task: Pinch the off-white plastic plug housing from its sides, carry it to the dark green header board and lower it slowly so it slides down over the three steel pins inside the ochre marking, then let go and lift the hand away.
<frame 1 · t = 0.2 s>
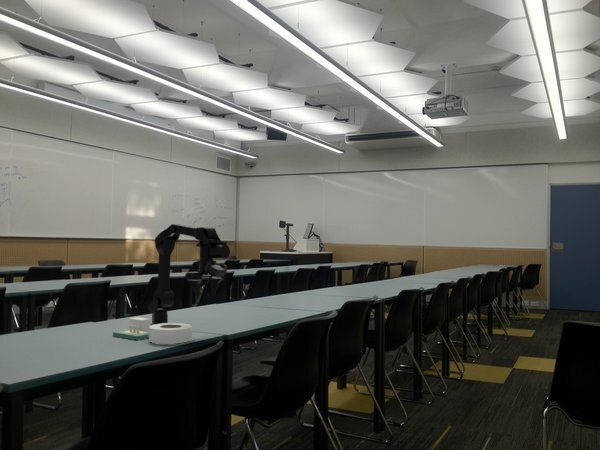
hand: (205, 296, 216), 14 cm above the table, fingers open, 9 cm apart
header board: (134, 336, 204), on the table
roll of tape: (170, 341, 197), on the table
plug housing: (139, 331, 216), on the table
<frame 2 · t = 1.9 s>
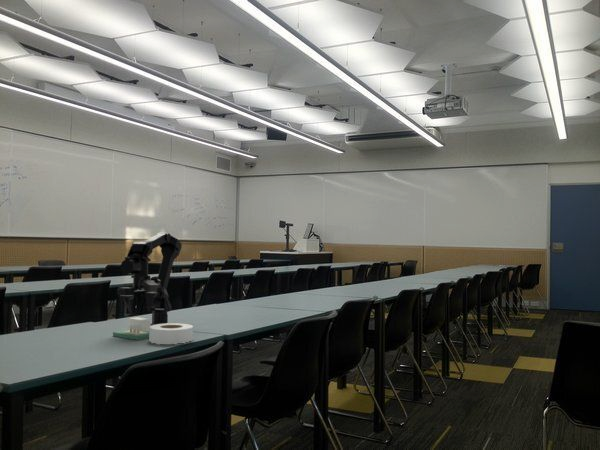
hand: (140, 311, 216), 8 cm above the table, fingers open, 9 cm apart
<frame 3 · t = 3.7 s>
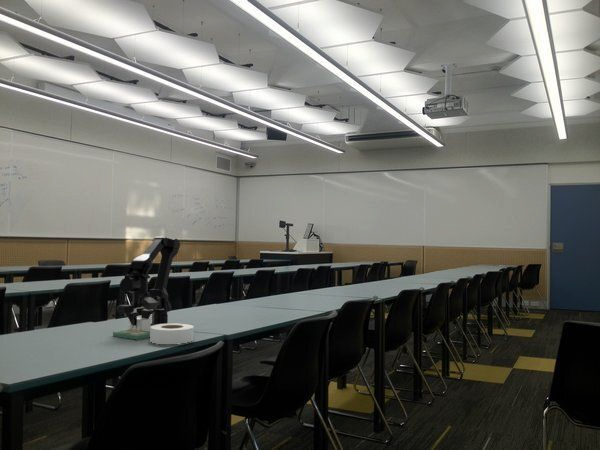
hand: (139, 328, 216), 1 cm above the table, fingers closed on plug housing, 4 cm apart
plug housing: (139, 331, 216), on the table, touching gripper
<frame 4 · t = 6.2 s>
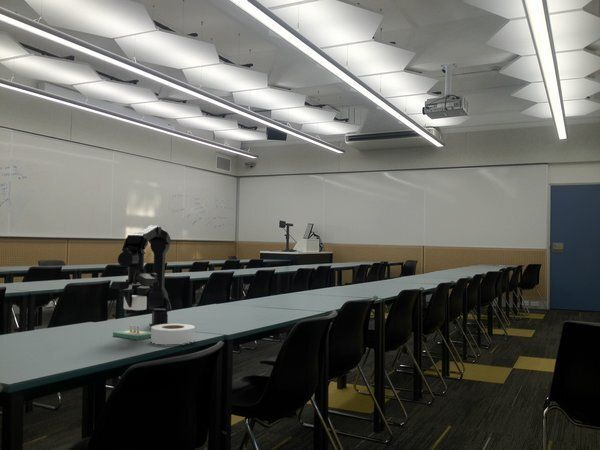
hand: (135, 306, 205), 11 cm above the table, fingers closed on plug housing, 4 cm apart
plug housing: (134, 309, 205), point 10 cm above the table, touching gripper
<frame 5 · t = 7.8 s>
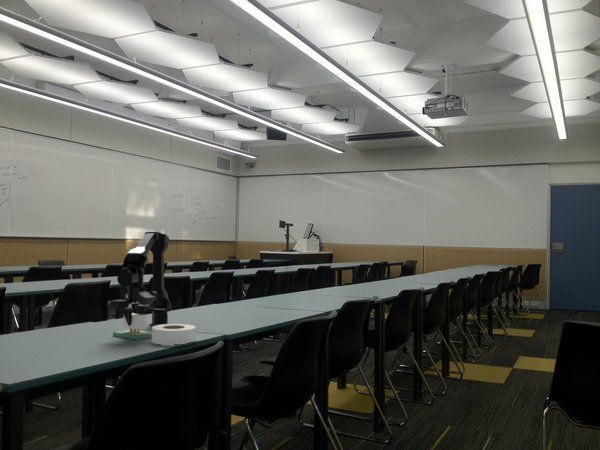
hand: (134, 324, 204), 4 cm above the table, fingers closed on plug housing, 4 cm apart
plug housing: (134, 327, 204), point 3 cm above the table, touching gripper
when the fingers open (3 cm above the table, at t = 9.0 s): plug housing stays where it is, resting on header board.
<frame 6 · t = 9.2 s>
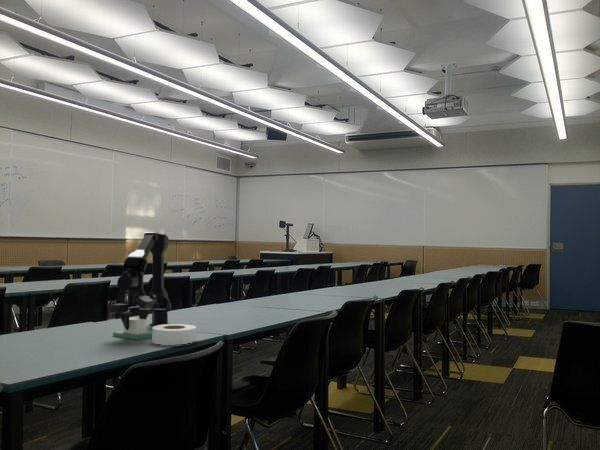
hand: (134, 328, 204), 3 cm above the table, fingers open, 7 cm apart
plug housing: (134, 332, 204), point 2 cm above the table, touching header board
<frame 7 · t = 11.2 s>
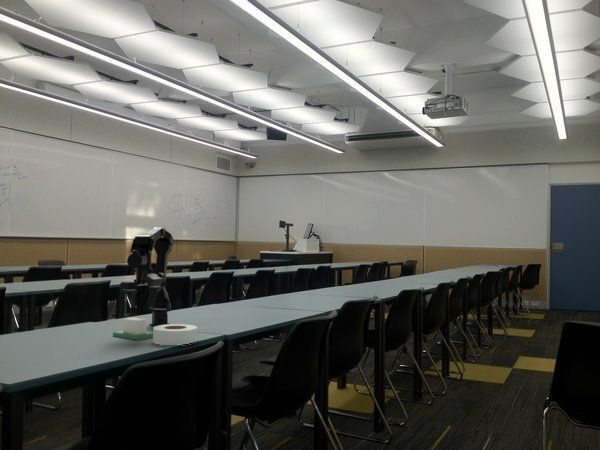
hand: (143, 305, 210), 11 cm above the table, fingers open, 9 cm apart
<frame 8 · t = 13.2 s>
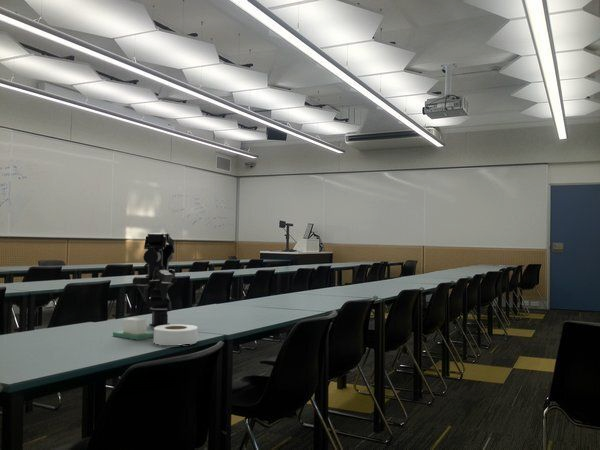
hand: (154, 300, 219), 12 cm above the table, fingers open, 9 cm apart
at the end: plug housing 0.0 cm off-centre on the header board, point 1.6 cm above the header board's base; plug housing tilted 0°; the gripper is holding nothing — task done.
